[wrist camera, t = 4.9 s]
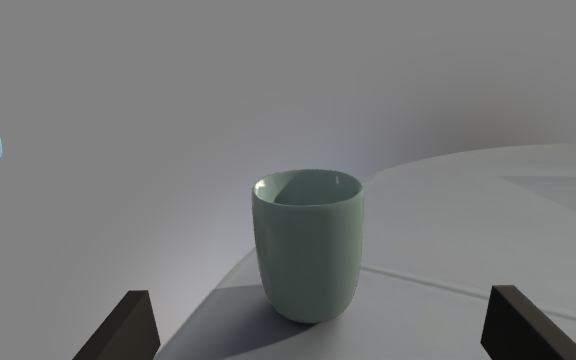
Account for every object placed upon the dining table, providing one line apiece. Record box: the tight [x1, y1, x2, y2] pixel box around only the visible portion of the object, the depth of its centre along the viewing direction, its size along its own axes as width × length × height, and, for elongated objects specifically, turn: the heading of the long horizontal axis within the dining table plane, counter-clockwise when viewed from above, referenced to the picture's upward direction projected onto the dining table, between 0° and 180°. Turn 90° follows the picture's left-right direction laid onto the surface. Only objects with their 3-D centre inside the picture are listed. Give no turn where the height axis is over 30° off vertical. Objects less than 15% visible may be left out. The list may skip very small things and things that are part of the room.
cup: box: [252, 169, 364, 323], centre depth 22 cm, size 8×8×10 cm
